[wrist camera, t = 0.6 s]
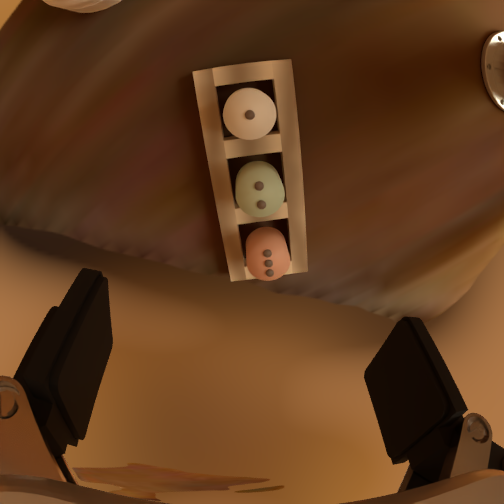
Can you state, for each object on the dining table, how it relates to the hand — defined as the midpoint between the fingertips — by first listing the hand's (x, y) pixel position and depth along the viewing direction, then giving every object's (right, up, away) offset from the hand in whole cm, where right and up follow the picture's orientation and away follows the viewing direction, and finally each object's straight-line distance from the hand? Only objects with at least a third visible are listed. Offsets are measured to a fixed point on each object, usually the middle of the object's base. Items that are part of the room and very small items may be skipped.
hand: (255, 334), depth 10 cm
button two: (+1, +10, +25) cm, 27 cm away
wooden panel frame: (0, +11, +27) cm, 29 cm away
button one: (0, +17, +21) cm, 27 cm away
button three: (+2, +3, +29) cm, 29 cm away
